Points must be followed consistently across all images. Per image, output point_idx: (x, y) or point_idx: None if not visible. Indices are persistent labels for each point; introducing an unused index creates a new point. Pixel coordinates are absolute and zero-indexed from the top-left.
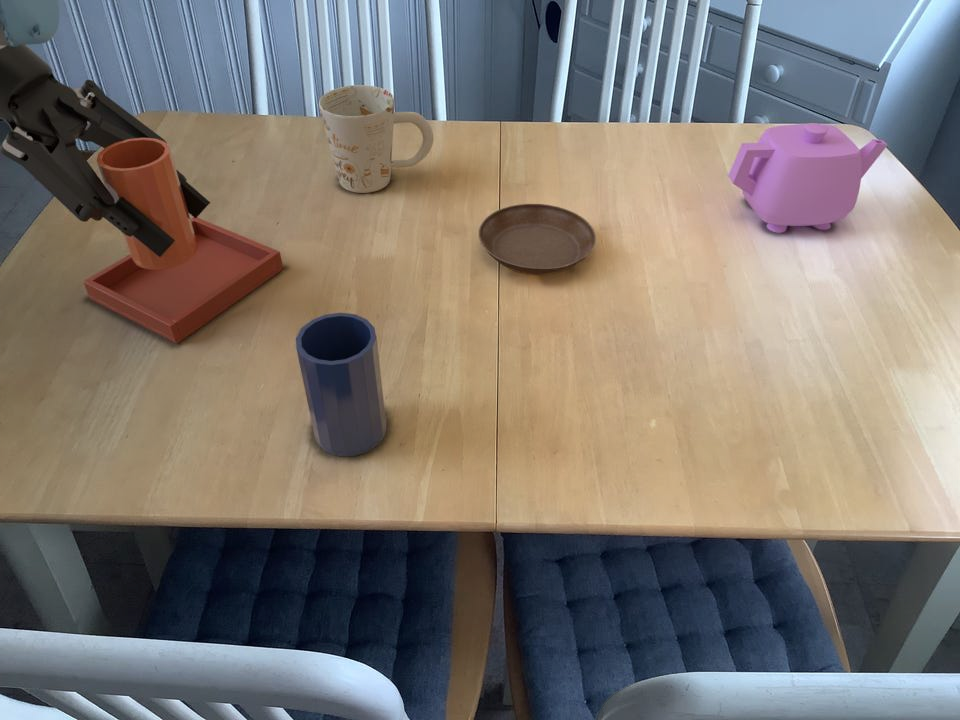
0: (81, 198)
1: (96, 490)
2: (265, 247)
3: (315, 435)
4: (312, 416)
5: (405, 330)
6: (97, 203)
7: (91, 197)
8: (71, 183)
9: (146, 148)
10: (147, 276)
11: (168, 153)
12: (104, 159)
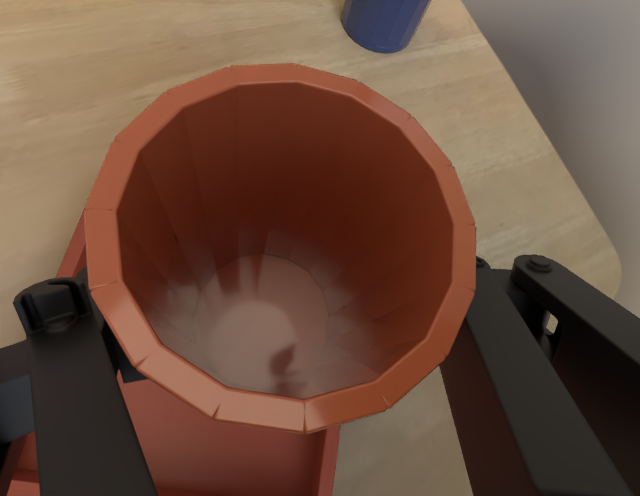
0: (582, 280)
1: (563, 207)
2: (78, 236)
3: (411, 37)
4: (427, 6)
5: (200, 12)
6: (516, 263)
7: (534, 277)
8: (618, 327)
9: (137, 285)
10: (219, 450)
11: (227, 67)
12: (376, 370)
